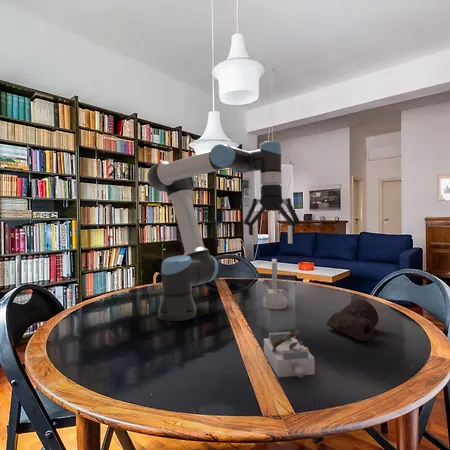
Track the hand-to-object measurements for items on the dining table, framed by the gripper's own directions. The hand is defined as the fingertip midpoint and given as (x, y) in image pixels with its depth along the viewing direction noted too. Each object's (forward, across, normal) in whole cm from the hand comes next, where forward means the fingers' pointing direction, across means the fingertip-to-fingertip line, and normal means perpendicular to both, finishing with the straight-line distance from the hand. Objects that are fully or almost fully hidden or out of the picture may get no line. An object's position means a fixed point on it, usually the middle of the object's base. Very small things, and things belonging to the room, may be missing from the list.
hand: (272, 243), depth 113 cm
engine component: (+29, +7, +23) cm, 38 cm away
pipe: (+29, +24, -13) cm, 40 cm away
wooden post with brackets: (+25, -5, -32) cm, 41 cm away
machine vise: (+29, -5, -34) cm, 44 cm away
